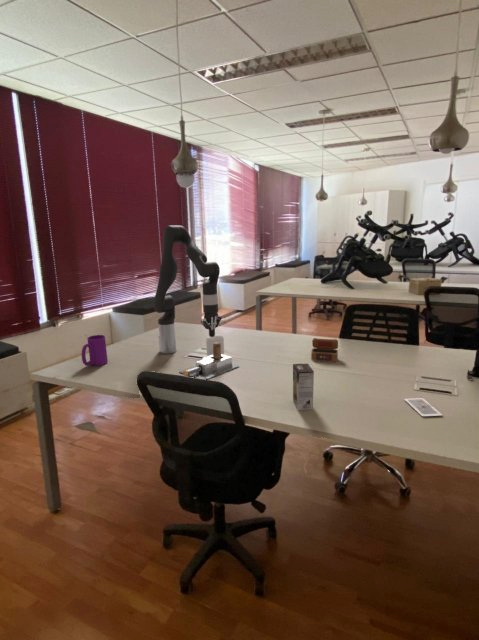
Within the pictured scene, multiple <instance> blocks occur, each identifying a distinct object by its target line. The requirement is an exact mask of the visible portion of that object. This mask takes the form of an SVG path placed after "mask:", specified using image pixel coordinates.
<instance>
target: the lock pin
mask: <svg viewBox="0 0 479 640" xmlns="http://www.w3.org/2000/svg"><path fill="white" fill-rule="evenodd" d="M199 371H202V366H198V367H195V368H192V369H189V370H186V371H184V372H183V374H182V375H183V376H184V377H185V376H186V377H189V376H188V375H191V374H194V373H196V372H199Z"/></svg>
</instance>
